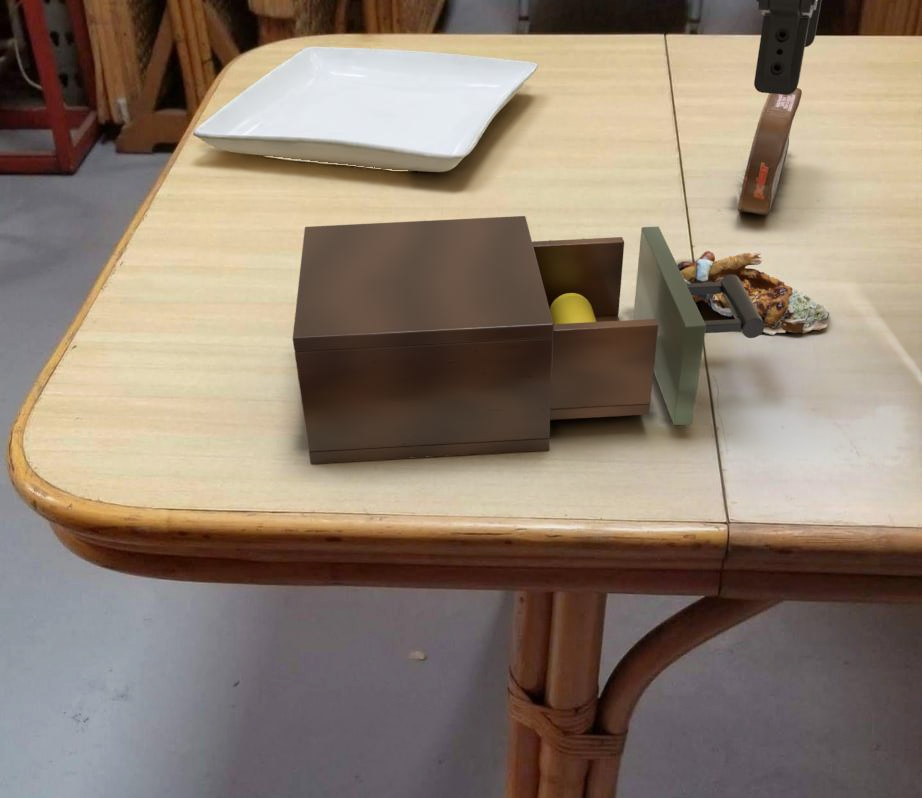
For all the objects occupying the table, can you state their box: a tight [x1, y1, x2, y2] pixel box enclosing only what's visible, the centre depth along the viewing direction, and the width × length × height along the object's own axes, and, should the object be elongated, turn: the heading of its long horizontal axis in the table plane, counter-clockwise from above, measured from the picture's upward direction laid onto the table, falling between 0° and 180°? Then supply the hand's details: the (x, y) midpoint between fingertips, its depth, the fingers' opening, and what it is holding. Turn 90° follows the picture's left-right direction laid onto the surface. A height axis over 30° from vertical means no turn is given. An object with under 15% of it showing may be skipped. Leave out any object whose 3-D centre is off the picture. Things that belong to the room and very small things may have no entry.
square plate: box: [192, 46, 539, 173], centre depth 108 cm, size 27×27×4 cm
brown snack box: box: [737, 87, 803, 216], centre depth 92 cm, size 15×3×8 cm, turn 161°
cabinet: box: [292, 215, 554, 465], centre depth 69 cm, size 15×15×9 cm
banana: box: [550, 293, 596, 324], centre depth 70 cm, size 3×9×3 cm, turn 4°
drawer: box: [532, 226, 765, 426], centre depth 69 cm, size 18×14×7 cm
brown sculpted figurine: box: [677, 250, 830, 336], centre depth 78 cm, size 7×12×4 cm, turn 71°
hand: (784, 66), depth 59 cm, fingers open, 8 cm apart
